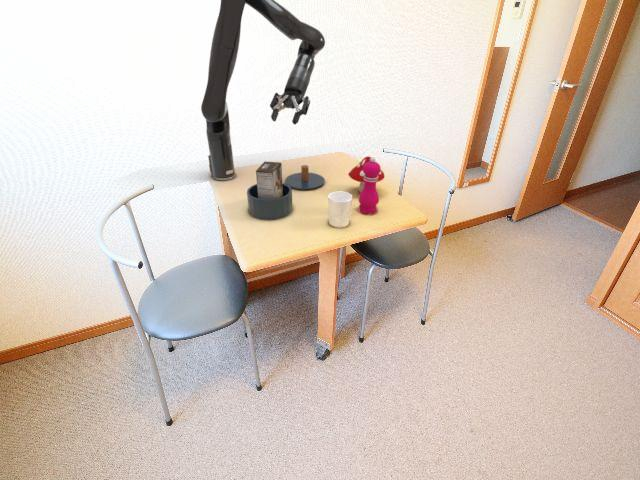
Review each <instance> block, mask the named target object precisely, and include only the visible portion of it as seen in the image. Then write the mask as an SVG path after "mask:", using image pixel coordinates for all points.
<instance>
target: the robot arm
mask: <svg viewBox="0 0 640 480" xmlns="http://www.w3.org/2000/svg"><path fill="white" fill-rule="evenodd" d="M219 5H220V7H219V12H218V17H217V20H216V23H215V27H214V31H213V35H212V39H211V46H210V53H209V61H208V71H207V72H208V73H207V83H206V87H205V91H204V95H203V98H202V102H201V105H200V111H201V113H202V117H203V118H204V119H205V124H206V128H205V129H206V130H205V133H206V140H207V145H208V146H207V147H208V151H209V154H208V163H209V164H208V167H209V172H210V176H211V178H213V179H214V180H216V181H230V180H232V179H234V178H236V169H235V161H234V155H233V147H232V145H233V144H232V139H231V138H232V137H231V123H230V113H229V107H228V102H227V94H228V88H229V85H230V82H231V79H232V76H233V74H234V71H235V67H236V63H237V59H238V54H239V48H240V42H241V29H242V20H243V19H242V18H243V14H244V10H245V6H246V5H248V6H249V7H251V8H252V9H253V10H255V11H256V12H257V13H258V14H260V15H261V16H262V17H263V18H264V19H265V20H266V21H268V22H269V23H270V24H271V25H272V26H273V27H274V28H275V29H276V30H278V31H279V32H280V33H282V35H284V36H285V37H286V38H287V39H289V40H291V41H295V40H300V44H299V46H298V50H297V55H296V60H295V62H294V65H293V67H292V69H291V71H290V74H289V76H288V78H287V81H286V84H285V87H284V91H283V93H282V94H279V93H278V92H275V93H274V94H273V97H272V100H271V101H270V104H269V107H270V109H271V110H272V112H271V115H270V118H271V120H272V122H277V119H278V117H279V112H281V111H282V110H283V111H284V110H285V109H292V110H294V109H295V112H294V115H293V117H292V120H291V122H292V124H293V125H297V124H298V123H299V122H300V118H301V117H302V115H303V116H306V115H307V114H308V112H309V107H310V104H311V99H310V97H309V96H308V95H306V92H307V90H308V87H309V85H310V82H311V77H312V74H313V72H314V69H315V64H316V63H315V57H316V55H318V54H319V53H320V52H321V51H322V50H323V49H324V47H325V46H326V38H325V36H324V35H323V33H322V32H321V31H320V30H319V29H317V28H316V27H315V26H312V25H310V24H308V23H306V22H304V21H301V20H300V19H299V18H298V17H297V16H295V15H294V13H292V12H291V11H289V10H288V9H287V8H286V7H284V6H283V5H281V4H280V3H279V2H277V1H276V0H220V4H219ZM301 104H302V106H301V107H300V105H301Z"/></svg>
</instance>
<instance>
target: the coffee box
mask: <svg viewBox="0 0 640 480" xmlns="http://www.w3.org/2000/svg"><path fill="white" fill-rule="evenodd" d="M282 165H283V164H282V162H278V161H263V163H262V164H261V165H260V166H258V167H257V169H256V170H255V175H256V176H255V177H256V184H257V188H258V198H259V199H266V200H269V199H277V198H281V197H283V183H284V182H283V169H282V168H283V167H282Z"/></svg>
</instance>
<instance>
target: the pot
mask: <svg viewBox="0 0 640 480" xmlns="http://www.w3.org/2000/svg"><path fill="white" fill-rule="evenodd" d="M282 183H283V197H281V198H277V199H269V200H266V199H259V198H258V188H257V183H255V184H253V185H251V186H250V187H248V188H247V191H246V197H247V207H248V212H249V214H250V215H251V217H253V218H256V219H258V220H262V221H263V220H264V221H274V220H280V219H283V218H286V217H287V216H289V215H290V214H291V213H292V212H293V188H292V187H290V186H289V185H287V184H286V183H285V182H282Z"/></svg>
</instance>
